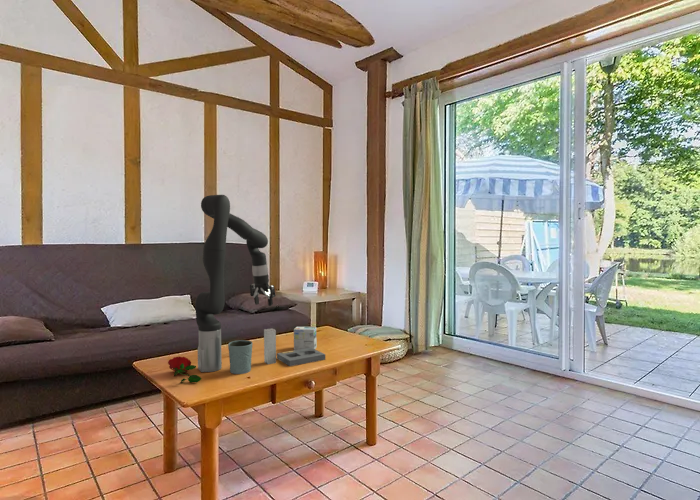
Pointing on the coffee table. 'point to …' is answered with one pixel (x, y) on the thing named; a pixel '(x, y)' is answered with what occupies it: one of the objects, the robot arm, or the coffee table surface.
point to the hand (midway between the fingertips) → (263, 304)
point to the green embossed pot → (240, 356)
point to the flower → (183, 368)
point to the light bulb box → (305, 338)
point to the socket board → (300, 356)
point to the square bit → (269, 346)
